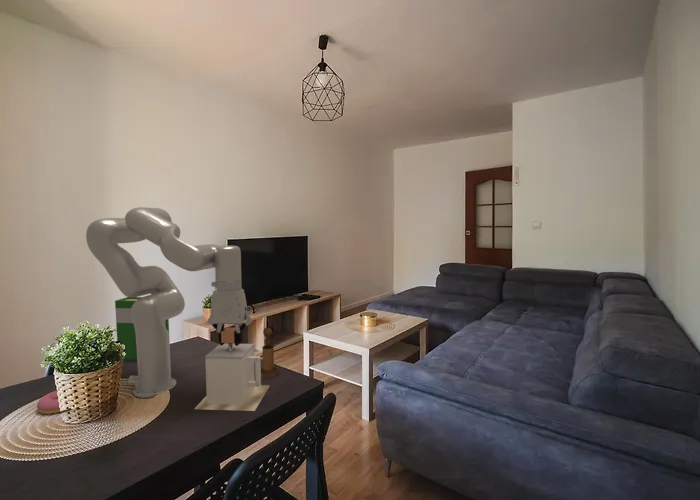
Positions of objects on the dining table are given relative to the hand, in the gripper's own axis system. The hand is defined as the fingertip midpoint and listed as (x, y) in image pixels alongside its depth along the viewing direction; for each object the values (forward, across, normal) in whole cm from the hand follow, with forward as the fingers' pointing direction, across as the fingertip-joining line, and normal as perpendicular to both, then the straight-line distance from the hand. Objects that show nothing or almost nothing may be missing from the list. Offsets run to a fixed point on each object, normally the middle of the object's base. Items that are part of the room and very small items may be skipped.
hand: (230, 343), depth 110 cm
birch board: (+18, +1, 0) cm, 18 cm away
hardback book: (+18, -50, +33) cm, 63 cm away
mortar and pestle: (+18, +7, +16) cm, 25 cm away
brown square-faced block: (+14, 0, 0) cm, 14 cm away
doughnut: (+18, -50, -7) cm, 54 cm away
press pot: (+17, +2, 0) cm, 17 cm away
